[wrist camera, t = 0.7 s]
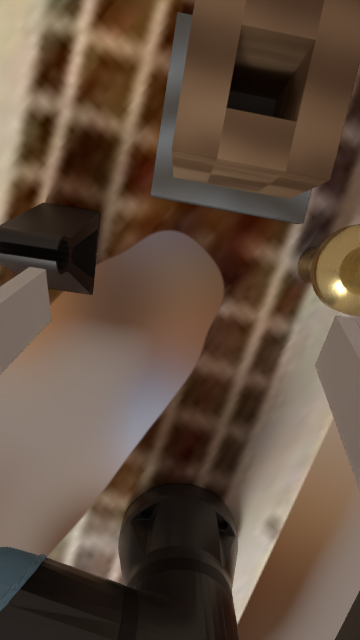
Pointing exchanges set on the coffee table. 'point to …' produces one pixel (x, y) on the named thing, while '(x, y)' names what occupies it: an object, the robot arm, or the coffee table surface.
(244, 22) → the walnut block
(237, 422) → the coffee table surface
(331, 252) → the brass pin
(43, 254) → the phone stand
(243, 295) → the coffee table surface
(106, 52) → the coffee table surface
